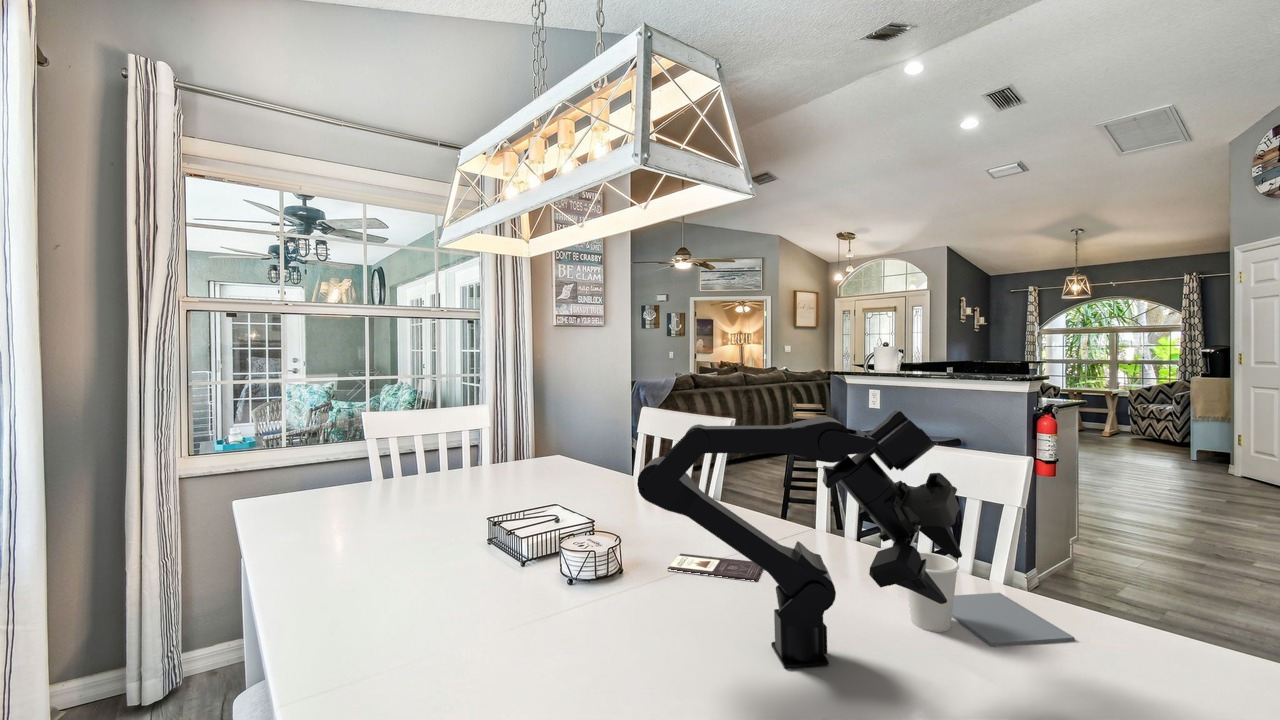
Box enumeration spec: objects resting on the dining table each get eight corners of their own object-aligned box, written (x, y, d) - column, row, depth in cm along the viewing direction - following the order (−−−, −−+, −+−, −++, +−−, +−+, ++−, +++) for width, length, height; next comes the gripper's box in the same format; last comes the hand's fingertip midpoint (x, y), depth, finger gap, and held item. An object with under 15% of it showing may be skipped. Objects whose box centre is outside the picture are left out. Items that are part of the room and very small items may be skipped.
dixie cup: (971, 626, 91) (970, 563, 91) (940, 641, 86) (938, 575, 86) (921, 606, 98) (920, 548, 98) (890, 619, 94) (889, 558, 93)
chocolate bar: (756, 579, 110) (667, 568, 117) (756, 584, 110) (667, 573, 117) (763, 562, 119) (680, 553, 125) (764, 567, 119) (680, 557, 125)
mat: (991, 646, 85) (991, 643, 85) (928, 599, 100) (928, 597, 100) (1074, 640, 85) (1074, 637, 85) (999, 595, 101) (999, 592, 101)
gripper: (901, 514, 69) (993, 618, 68) (939, 434, 82) (1017, 520, 80) (834, 539, 77) (915, 632, 76) (878, 463, 90) (948, 541, 88)
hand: (952, 579), depth 80 cm, fingers open, 9 cm apart
